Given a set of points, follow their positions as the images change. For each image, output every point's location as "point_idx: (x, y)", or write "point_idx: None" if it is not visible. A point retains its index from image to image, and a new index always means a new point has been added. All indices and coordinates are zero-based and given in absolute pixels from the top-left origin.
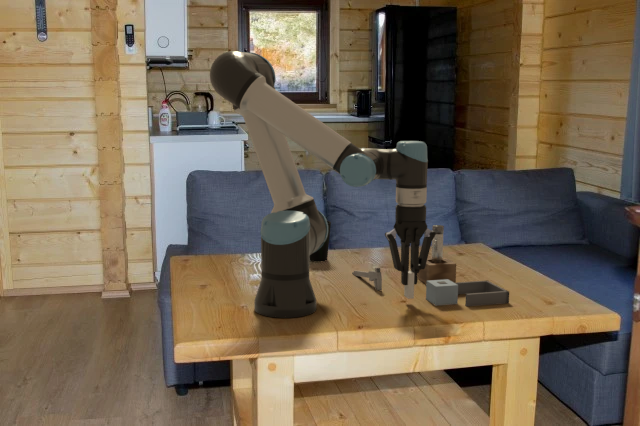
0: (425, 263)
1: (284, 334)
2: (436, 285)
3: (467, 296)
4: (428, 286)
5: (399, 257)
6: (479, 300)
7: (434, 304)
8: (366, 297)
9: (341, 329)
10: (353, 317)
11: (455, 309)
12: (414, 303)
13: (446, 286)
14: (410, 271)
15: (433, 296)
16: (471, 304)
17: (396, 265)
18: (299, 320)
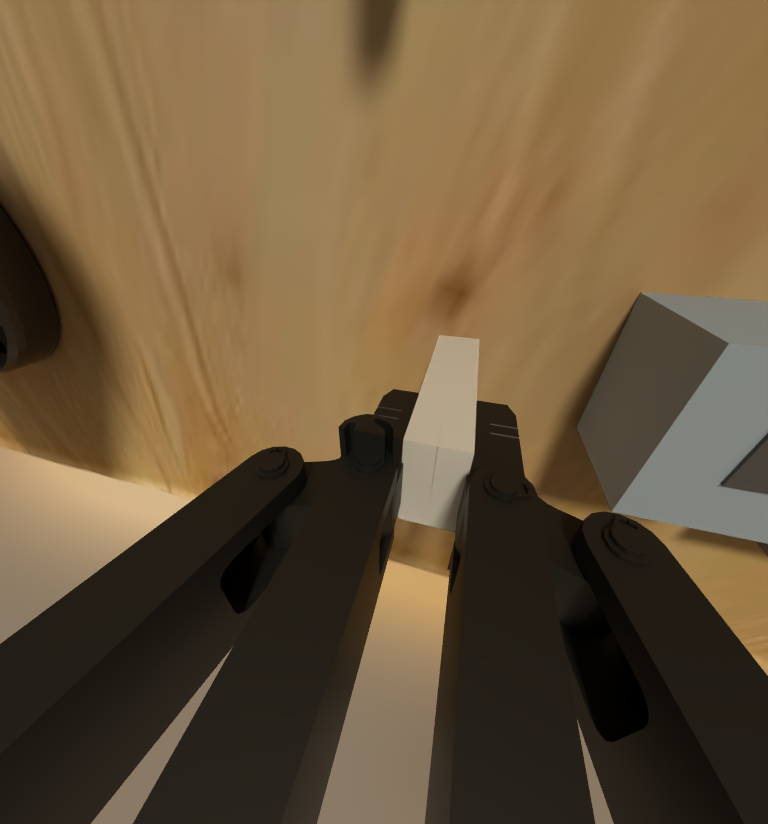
0: (624, 677)
1: (67, 455)
2: (644, 496)
3: (765, 550)
4: (669, 375)
5: (201, 678)
6: None
7: (582, 417)
8: (250, 105)
9: (176, 482)
10: (197, 421)
11: None
12: (492, 355)
13: (707, 527)
14: (450, 483)
15: (601, 429)
16: None
17: (240, 554)
18: (54, 383)
